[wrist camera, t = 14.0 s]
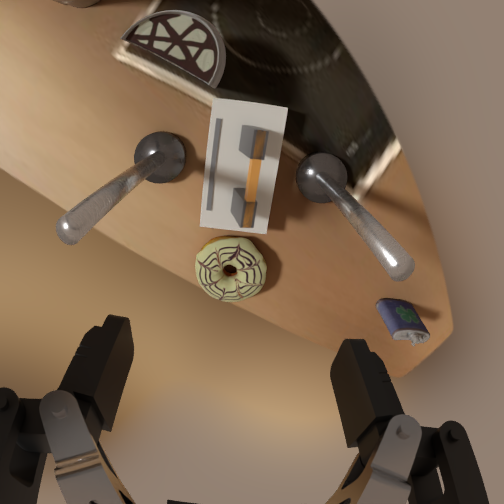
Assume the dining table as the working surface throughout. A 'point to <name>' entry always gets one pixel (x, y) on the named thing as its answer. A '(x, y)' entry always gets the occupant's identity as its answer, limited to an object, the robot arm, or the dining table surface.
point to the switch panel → (239, 162)
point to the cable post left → (125, 183)
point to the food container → (182, 43)
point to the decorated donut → (237, 255)
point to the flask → (402, 320)
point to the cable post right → (351, 210)
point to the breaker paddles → (249, 175)
